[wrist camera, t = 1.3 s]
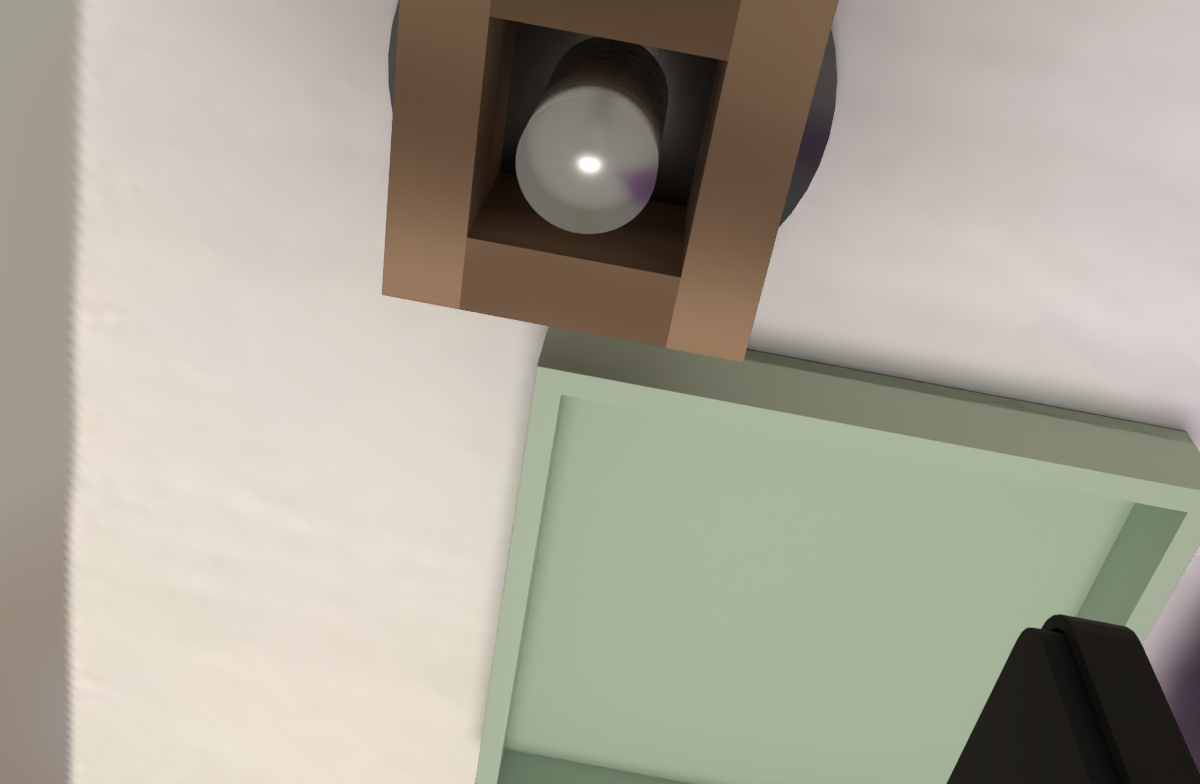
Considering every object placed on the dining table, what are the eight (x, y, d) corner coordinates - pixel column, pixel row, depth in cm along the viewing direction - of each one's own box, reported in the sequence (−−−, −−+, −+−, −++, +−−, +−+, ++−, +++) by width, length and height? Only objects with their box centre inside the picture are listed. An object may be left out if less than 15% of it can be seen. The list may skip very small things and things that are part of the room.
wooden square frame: (452, -125, 20) (405, -98, 18) (825, -55, 20) (842, -17, 18) (424, 224, 24) (382, 294, 21) (741, 283, 24) (742, 362, 21)
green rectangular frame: (553, 312, 26) (537, 366, 24) (1186, 431, 26) (1227, 495, 24) (486, 745, 34) (470, 814, 32) (972, 837, 34) (988, 912, 32)
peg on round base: (413, -198, 21) (331, -176, 16) (889, -109, 21) (931, -65, 16) (386, 242, 25) (317, 347, 21) (774, 314, 25) (783, 435, 21)
